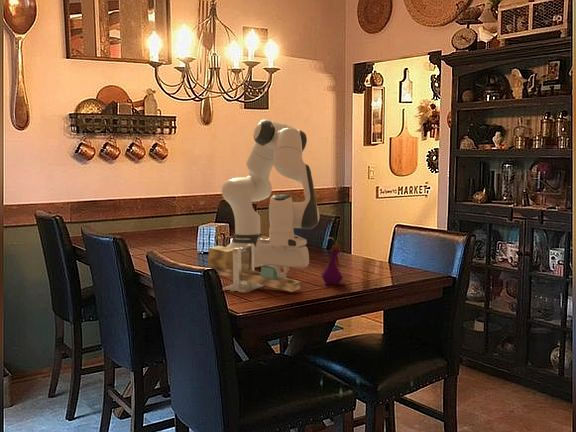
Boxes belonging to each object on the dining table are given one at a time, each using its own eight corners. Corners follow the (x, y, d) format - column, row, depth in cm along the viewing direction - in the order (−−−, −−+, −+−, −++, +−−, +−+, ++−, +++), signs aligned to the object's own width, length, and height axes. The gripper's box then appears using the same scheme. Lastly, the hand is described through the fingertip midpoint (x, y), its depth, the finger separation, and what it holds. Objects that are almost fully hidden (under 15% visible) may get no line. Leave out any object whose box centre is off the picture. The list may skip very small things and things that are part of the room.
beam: (207, 271, 248) (209, 246, 246) (216, 268, 253) (218, 244, 252) (291, 291, 232) (294, 264, 230) (300, 288, 237) (302, 261, 236)
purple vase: (340, 282, 253) (340, 235, 251) (342, 286, 245) (342, 238, 243) (321, 282, 252) (320, 236, 251) (322, 286, 245) (322, 238, 243)
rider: (260, 280, 239) (261, 266, 238) (265, 278, 242) (266, 265, 241) (272, 283, 236) (273, 269, 236) (277, 280, 240) (278, 267, 239)
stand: (222, 290, 241) (221, 248, 239) (242, 283, 253) (242, 243, 252) (246, 292, 236) (245, 250, 235) (265, 285, 248) (264, 244, 247)
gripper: (251, 239, 237) (252, 277, 239) (302, 242, 228) (303, 281, 229) (260, 237, 243) (261, 274, 244) (310, 240, 233) (311, 278, 235)
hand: (282, 278), depth 237 cm, fingers closed
